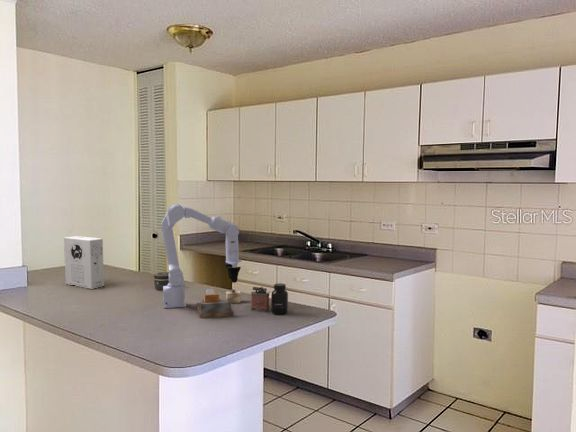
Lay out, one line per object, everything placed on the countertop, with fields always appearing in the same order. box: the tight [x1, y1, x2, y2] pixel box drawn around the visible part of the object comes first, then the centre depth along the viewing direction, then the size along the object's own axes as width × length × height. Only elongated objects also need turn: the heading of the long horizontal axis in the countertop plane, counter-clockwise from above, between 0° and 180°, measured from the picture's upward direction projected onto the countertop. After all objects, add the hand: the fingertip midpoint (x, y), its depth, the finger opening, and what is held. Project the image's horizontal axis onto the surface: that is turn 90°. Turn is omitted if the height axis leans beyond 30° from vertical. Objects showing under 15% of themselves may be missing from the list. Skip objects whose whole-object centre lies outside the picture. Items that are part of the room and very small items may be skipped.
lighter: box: [250, 286, 270, 313], centre depth 206 cm, size 8×3×10 cm, turn 71°
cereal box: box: [63, 235, 105, 290], centre depth 253 cm, size 22×8×25 cm, turn 58°
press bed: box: [196, 295, 233, 319], centre depth 211 cm, size 13×30×6 cm, turn 14°
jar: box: [153, 271, 169, 291], centre depth 247 cm, size 10×10×8 cm
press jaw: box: [204, 288, 220, 303], centre depth 218 cm, size 6×12×3 cm, turn 14°
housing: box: [225, 288, 242, 304], centre depth 220 cm, size 6×4×6 cm, turn 104°
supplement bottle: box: [270, 282, 289, 316], centre depth 202 cm, size 7×7×12 cm
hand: (233, 280), depth 220 cm, fingers open, 7 cm apart
